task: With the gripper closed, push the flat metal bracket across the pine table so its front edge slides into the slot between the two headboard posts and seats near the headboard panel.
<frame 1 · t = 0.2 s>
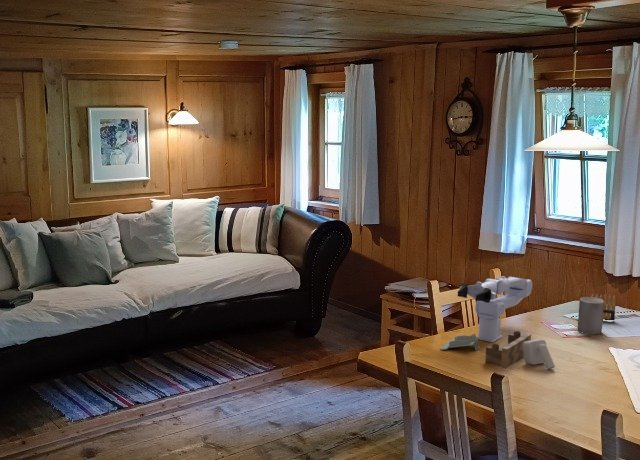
hand: (467, 295, 286), 21 cm above the table, tool horizontal, fingers open, 7 cm apart
grey chunky block: (541, 366, 273), on the table
metal bracket: (461, 348, 293), on the table
ammunition clip: (601, 321, 333), on the table
pillar candle: (589, 331, 316), on the table
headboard: (510, 358, 281), on the table
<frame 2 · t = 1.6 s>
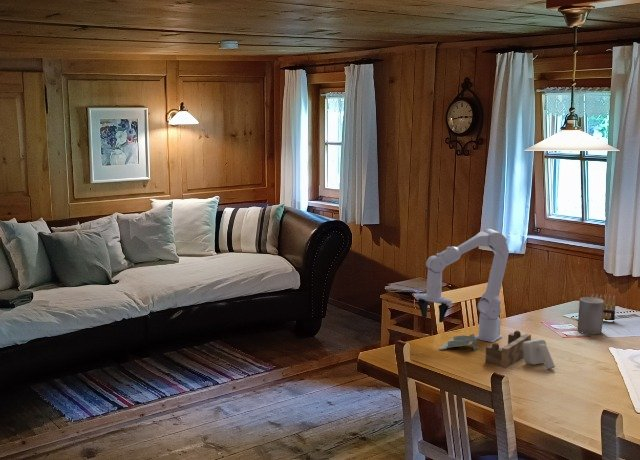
hand: (432, 320, 299), 8 cm above the table, tool pointing down, fingers open, 7 cm apart
nothing on the table moved.
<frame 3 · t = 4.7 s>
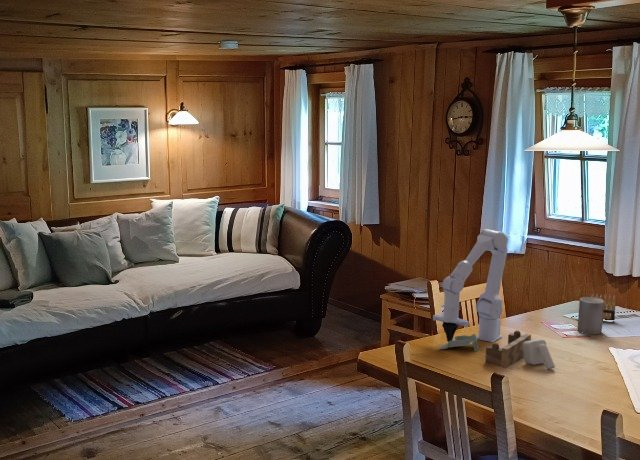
hand: (449, 341, 295), 1 cm above the table, tool pointing down, fingers closed
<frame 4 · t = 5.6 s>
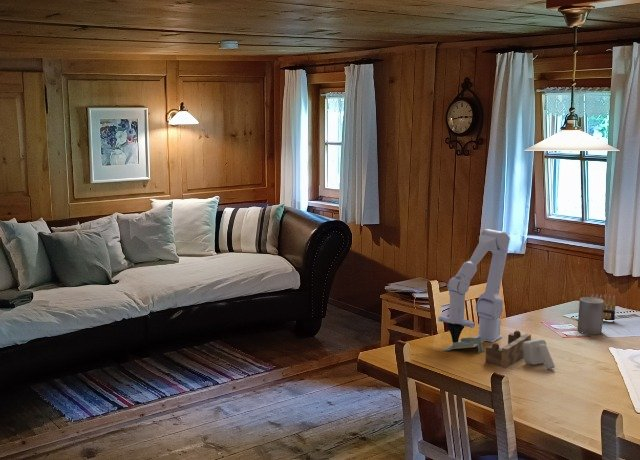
hand: (455, 342, 294), 1 cm above the table, tool pointing down, fingers closed
metal bracket: (465, 350, 291), on the table, touching gripper
everything else where it was.
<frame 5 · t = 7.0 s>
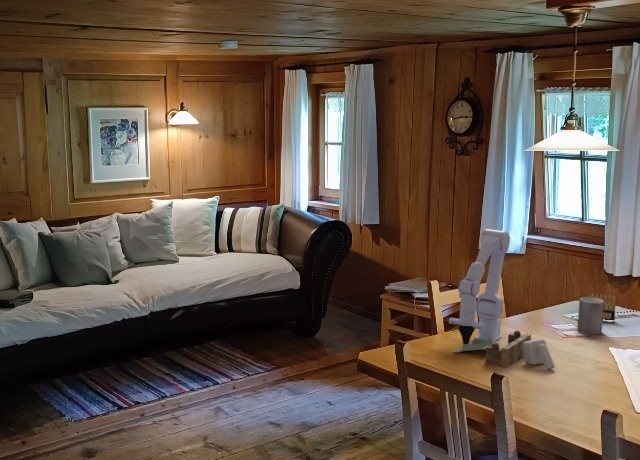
hand: (466, 344, 291), 1 cm above the table, tool pointing down, fingers closed
metal bracket: (476, 352, 288), on the table
everything else where it was.
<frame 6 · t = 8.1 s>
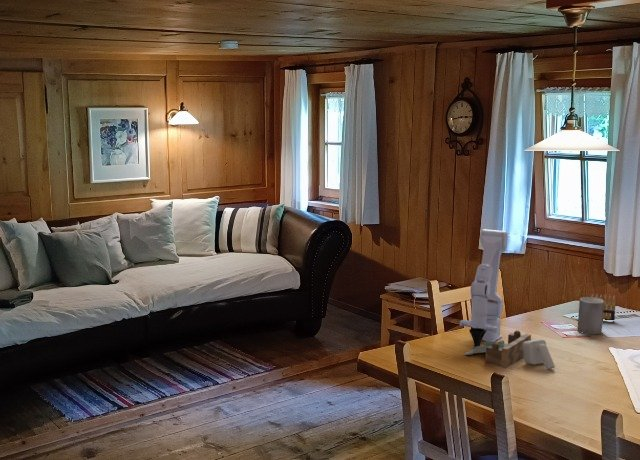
hand: (477, 347, 288), 1 cm above the table, tool pointing down, fingers closed
metal bracket: (488, 354, 285), on the table, touching gripper
everything else where it was.
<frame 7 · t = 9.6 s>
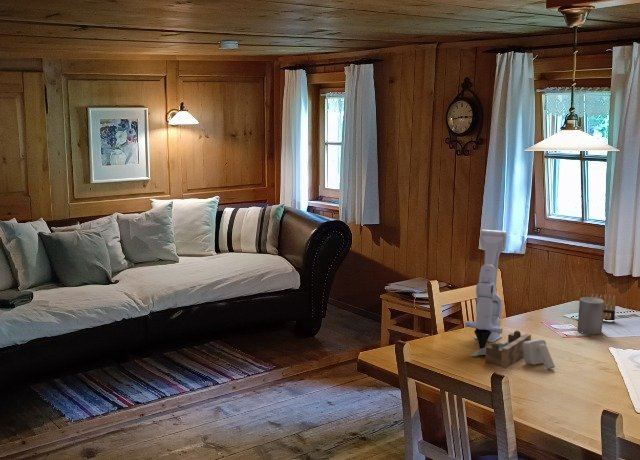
hand: (482, 348, 287), 1 cm above the table, tool pointing down, fingers closed
metal bracket: (493, 356, 284), on the table, touching gripper
everything else where it was.
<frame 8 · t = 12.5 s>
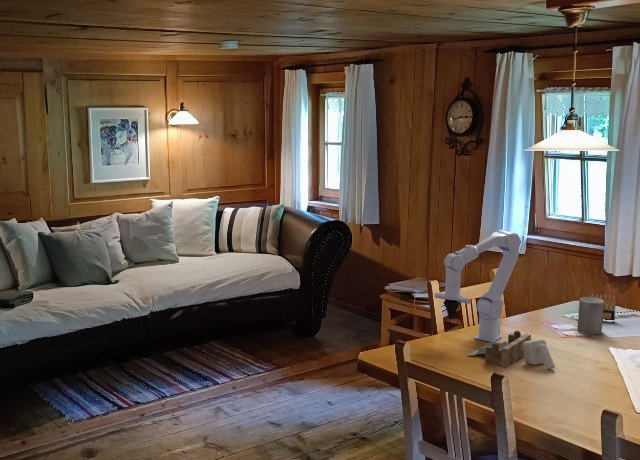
hand: (451, 318, 296), 10 cm above the table, tool pointing down, fingers closed
metal bracket: (491, 355, 285), on the table
everything else where it was.
at the end: metal bracket inside the target area (1.0 cm from its centre), on the table; metal bracket moved 12.4 cm from its start; metal bracket tilted 0° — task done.
